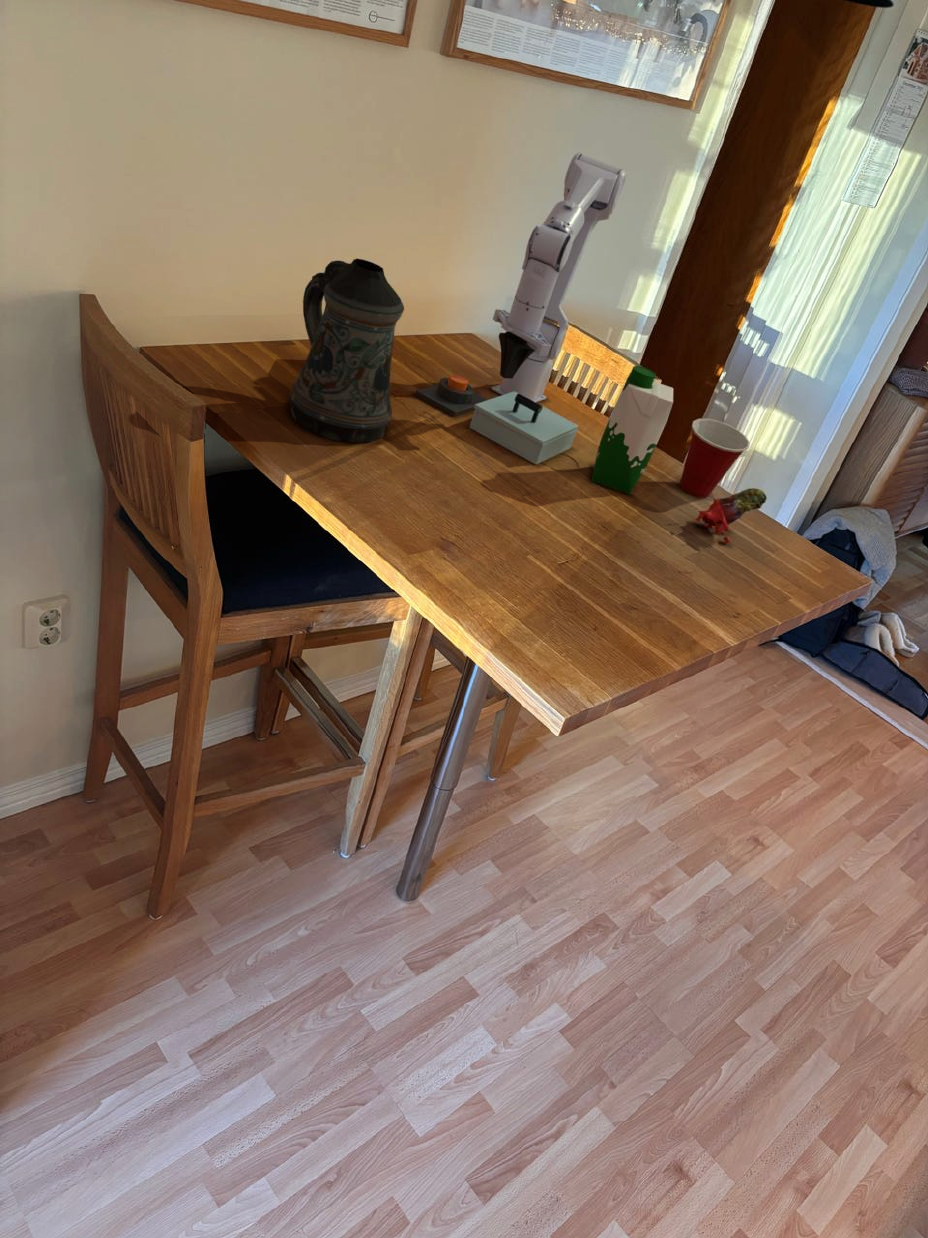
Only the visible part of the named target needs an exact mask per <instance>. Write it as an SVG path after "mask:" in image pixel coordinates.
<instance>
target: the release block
mask: <svg viewBox="0 0 928 1238" xmlns="http://www.w3.org/2000/svg"><path fill="white" fill-rule="evenodd" d="M448 379H449V377H443V378H440V379H439V381H438V384H434V385H431V386H428V387H427V386H426V387H424V388H420V389H416V391H415V397H418V398H419V399H421V400H423V401H424V402H426V403H428V404H429V405H432V406H434V407H436V408H437V409H439V410H441V411H443V412H444V413H446V414H448V415H450V416H451V417H454V418H455V417H456V418H457V417H459V416H462V415H464V414H467V413H470V412H474V411H475V408H474V406H475V404H478V403H481V402H484V401H487V400H488V399H487V398H486V397H484V396H482V395H480V394H478V393H476V392H474V391H475V390H474V388H473V387H472V386H471V384H469V383H468V384H467V388H466V391H458V390H455V389H452V388H450V387H449V386H448V385H447V383H448Z"/></svg>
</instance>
